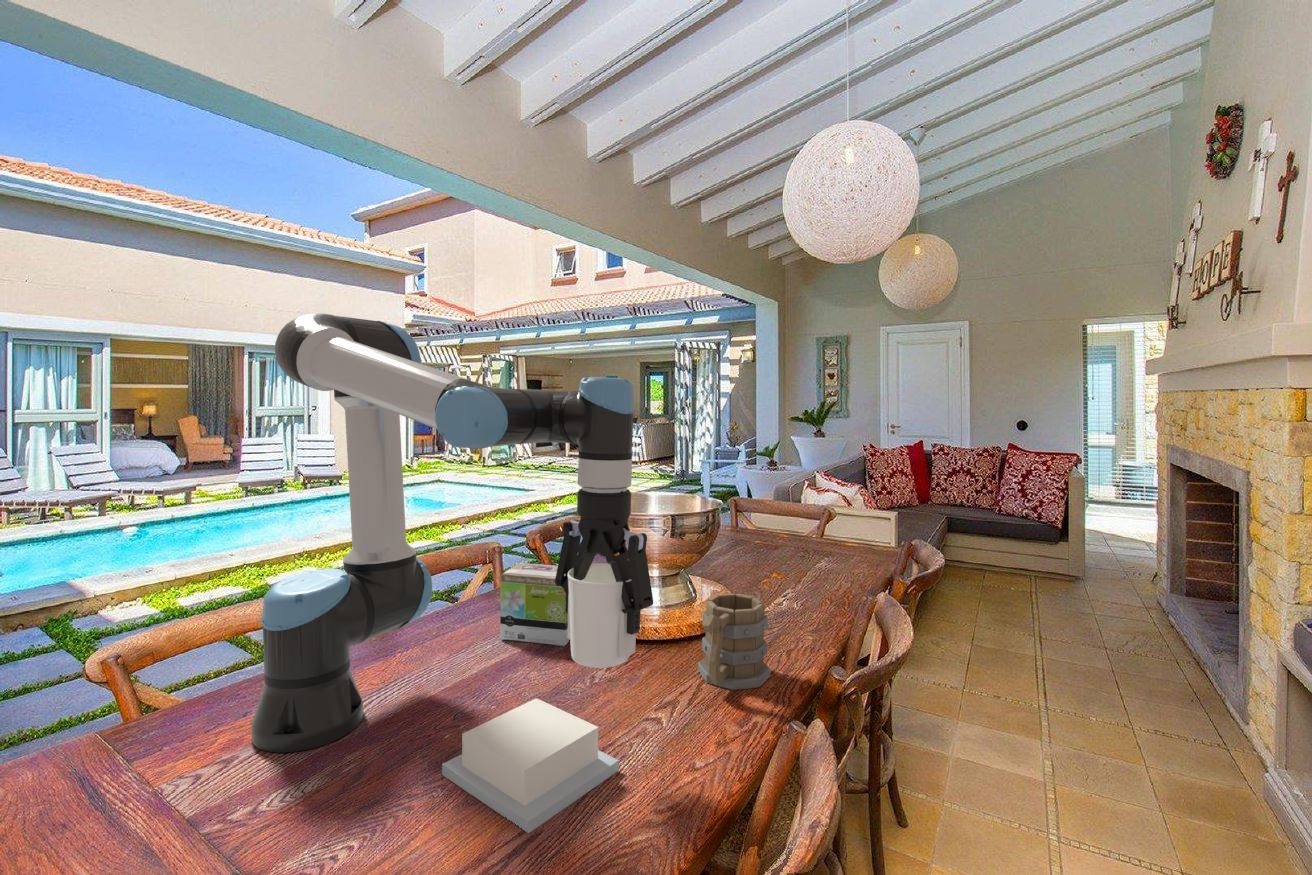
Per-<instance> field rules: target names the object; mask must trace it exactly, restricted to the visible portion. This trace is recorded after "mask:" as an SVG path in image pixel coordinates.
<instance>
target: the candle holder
mask: <svg viewBox="0 0 1312 875" xmlns="http://www.w3.org/2000/svg"><path fill="white" fill-rule="evenodd" d="M567 577H568V591H569V619H570V641H569V644H570V656H571V659H572V660H573V661H574V662H575V663H576V664H578V665H581V666H583V667H588V668H591V669H592V668H595V669H607V668H613V667H617V666H619V665H622V664H623V663H625V662H626V661H627V660H628V659H629V657H630V655H629V656H627V657H625V658H623V659H622V658H619V622H620V610H623V609H625V607H624V604H623V601H622V598H621V595H622V585H623V582H622V581H621V582H616V580H615V577H614V574H613V571H612V568H611V565H610V564H608V563H592V564H591V566H590V568H589V570H588V573H587V575H586V577H585V578H584V579H583V580H581V581H580V580H577V579H574V569H573V568H572V569H571V570H569V572H568V574H567ZM630 581H631V579H629V580H627V581H626V582H630ZM632 601H633V600H632Z"/></svg>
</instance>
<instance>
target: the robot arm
mask: <svg viewBox="0 0 1312 875" xmlns="http://www.w3.org/2000/svg"><path fill="white" fill-rule="evenodd" d="M274 355H275V358H276V361H277V364H278V366H279V367H280V369H281V371H282V372H284V374H285V375H286V376H287V377H289V378H290V379H292V380H293V381H294V382H296V383H299V384H300V385H303V386H306V387H307V388H308V387H309V388H311V389H314V390H316V391H320V392H330V391H333V395H334V396H333V397H334V398H333V400H334V401H335V402H337V403H338V404H339V405H340V406H341V407H342V408H343V409H344V416H345V420H344V421H345V433H346V434H345V438H346V451H347V452H346V453H347V454H346V457H347V471H348V488H349V489H348V490H349V508H350V510H349V512H350V525H351V527H350V528H351V543H352V545H351V546H352V548H351V550H350V551H349V552H348V553H347V554H346V555H345V556H344V557H343V569H339V568H333V567H332V568H318V569H316V570H313V571H311V570H307V571H303V572H300V573H296V574H293V575H290V576H287V577H285V578H283V579H281V580H279V581H278V582H275V584H273V585H271V586H270V588H269V589H268V590H267V592H266V594H265V595H264V596H263V603H262V611H261V613H262V615H261V618H260V622H261V626H262V642H263V644H262V645H263V646H262V647H263V681H264V683H263V684H264V685H263V688H262V692H261V694H260V698H259V701H258V704H257V706H256V709H255V712H254V715H253V718H252V722H251V727H250V728H251V730H250V731H251V733H250V734H251V743H252V744H253V746H255V748H257V749H259V750H261V751H265V752H269V753H293V752H301V751H302V752H303V751H306V750H310V749H314V748H318V747H321V746H324V745H327V744H330V743H332V742H334V741H337V740H339V739H341V738H343V737H345V736H346V735H348V734H350V733H351V732H352V731H353V730H355V729H356V728H357V727H358V726H359V725H361V724H360V723H361V722H362V721H363V718H364V701H363V698H362V696H361V692H360V690H359V688H358V685H357V683H356V680H355V678H354V676H353V673H352V671H351V647H353V646H357V645H358V644H361V643H364V642H366V641H369V640H372V639H374V638H376V637H379V636H381V635H384V634H387V633H389V632H392V631H396V630H400V629H403V628H404V627H405V626H407V625H408V624H411V623H413V622H414V621H416V620H418V619H419V618H420V617H421V616H422V615H423V614H424V613H425V611H426V610H427V609H428V607H429V605H430V602H431V600H432V594H433V579H432V576H431V572H430V570H427V565H426V563H424V562H423V561H422V560H421V559H419V558H417V550H416V549H415V548H414V547H412V546H411V545H410V544H409V543H408V542H407V533H406V529H407V528H406V516H405V513H406V512H405V495H404V494H405V493H404V477H403V476H404V475H403V474H404V473H403V456H402V438H401V418H400V417H401V416H402V417H405V418H408V419H410V420H413V421H415V422H418V423H421V424H422V425H425V426H428V427H431V428H434V429H436V430H437V432H438V434H439V435H441V436H442V437H443V439H444V441H445V442H446V443H448V445H450V446H452V447H455V448H459V449H473V450H481V449H486V448H491V447H492V448H493V447H501V446H502V447H503V446H511V445H512V446H513V445H525V444H538V443H559V444H563V443H564V444H574V445H578V464H577V465H578V467H577V485H578V486H579V487H581V488H579V490H578V491H577V492H576V494H577V499H576V500H577V502H576V512H577V515H578V516H579V517H580V520H579V519H575V520H570V521H564V522H563V524H562V534H563V538H562V543H561V544H562V545H561V549H560V554H559V559H558V565H557V566H558V568H557V573H556V578H555V584H556V585H557V586H561V587H563V588H564V591H565V593H566V606H565V610H566V613H568V631H567V638H568V639H570V619H569V591H568V577H567V574H568V572H569V570H571V569H572V568H573V569H574V579H577V580H580V581H581V580H583V579H584V578H585V577H586V575H587V573H588V570H589V568H590V566H591V564H593V561H594V559H595V557H596V555H597V554H598V555H600V556H602V557H605V559H606V564H610V565H611V568H612V571H613V574H614V577H615V580H616V582H621V581H622V582H623V585H622V595H621V598H622V601H623V604H624V607H625V609H623V610H620V622H619V658H622V659H623V658H625V657H627V656H629V657H630V656H632V655H633V654H635V653H636V642H637V641H636V639H637V638H636V636H637V635H636V634H638V633H639V631H640V629H641V611H642V610H644V609H647V608H649V607H651V606H653V605H654V597H653V590H652V583H651V578H650V571H649V566H648V565H649V564H648V558H647V557H648V556H647V550H646V549H647V542H648V536H647V534H646V533H644V532H642V533H636V532H633V531H631V529H630V528H629V522H628V520H629V518H630V516H631V513H632V492H631V490H630V489H629V487H631V486H632V480H633V478H632V474H633V472H632V471H633V436H634V435H633V434H634V433H633V432H634V431H633V430H634V415H635V412H636V409H635V406H634V405H635V403H634V402H635V401H634V400H635V399H634V385H633V382H632V381H631V380H629V379H627V378H624V377H623V378H621V377H608V376H607V377H604V376H600V377H599V376H596V377H595V376H590V377H588V376H587V377H586V376H585V377H583V378H581V380H580V382H579V387H578V390H576V391H575V390H573V391H570V390H569V391H568V390H551V389H550V390H549V389H547V390H546V389H538V388H536V389H534V388H526V389H525V388H524V389H522V388H521V389H520V388H503V387H502V388H501V387H500V388H499V387H492V386H488V385H485V384H482V383H479V382H477V381H473V380H470V379H468V378H465V377H462V376H459V375H456V374H452V373H451V372H450V373H449V372H446V371H444V370H441V369H437V368H435V367H431V366H429V365H427V364H423V363H422V359H421V352H420V350H419V347H418V345H417V342H416V341H415V340H414V337H413V336H412V335H411V334H409V333H408V332H407V330H405V328H402V327H400V326H398V325H397V324H390V323H387V322H385V321H382V320H371V319H363V318H355V317H349V316H347V317H346V316H341V315H340V316H339V315H334V314H330V313H308V314H305V315H300V316H297V317H296V318H294V319H292V320H290V321H289V322H287V323H286V324H285V325H284V326H283V327H281V329H280V331H279V333H278V335H277V337H276V341H275V344H274ZM564 575H565V576H564ZM629 579H631V581H630V582H626V581H627V580H629ZM632 600H633V601H632Z"/></svg>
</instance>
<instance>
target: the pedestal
mask: <svg viewBox="0 0 1312 875" xmlns="http://www.w3.org/2000/svg"><path fill="white" fill-rule="evenodd" d="M461 735H462V736H461V738H462V739H461V745H462V746H461V747H462V748H461V749H462V750H461V754H458V756H455V757H453V758H451V759H449V760H448V761H445V762H443V763H441V775H442V776H443V777H445V778H446V779H447V780H449V781H451V782H452V783H454V784H455V785H457V786H458V787H460V788H461V789H462V790H463V791H466V792H467V793H468V794H469V795H471V796H472V797H474V798H475V799H477V800H478V801H480V802H481V803H483V804H484V805H486V806H487V807H489V808H490V809H492V810H493V811H494V812H497V813H498V814H499V815H501V816H502V817H504V818H505V817H506V818H507V819H506V818H505V819H506V820H508V821H509V820H510V821H509V822H511V821H512V822H514V823H515V824H516V826H517V825H518V826H519V827H518V826H517V827H518V828H520V829H521V828H522V830H523V831H524V832H525V833H527V834H530V833H531V832H533V831H534V830H536V829H537V828H539V827H541V826H542V825H543V824H544V823H546V822H547V821H548V820H550V819H552V818H553V817H555V816H556V815H557V814H558V813H560V812H561V811H563V810H564V809H566V808H567V807H569V806H570V805H572V804H574V802H576V801H577V800H579V799H580V798H582V797H583V796H585V795H586V794H587V793H589V792H590V791H591V790H593V789H594V788H596V787H598V786H599V785H600V784H602V783H603V782H604V781H606V780H608V779H609V778H610V777H612V776H613V775H615V774H616V773H618V772H619V771H620V770H619V768H620V767H619V766H620V765H619V764H620V763H619V762H620V761H619V759H618V758H615V757H613V756H611V755H609V754H607V753H605V752H604V751H601V750H599V726H598V725H596V724H593V723H591V722H588V721H586V720H585V719H582V718H580V717H577V716H576V715H573V714H571V713H569V712H567V711H564V710H563V709H560V708H558V707H556V706H554V705H552V704H550V703H547V702H545V701H543V700H541V699H539V698H537V697H536V698H533V699H532V700H529V701H528V702H526V703H523V704H522V705H519V706H517V707H515V708H513V709H511V710H509V711H507V712H505V713H503V714H500V715H499V716H496V717H494V718H492V719H490V720H488V721H486V722H484V723H482V724H480V725H477V726H476V727H473V728H471V729H469V730H468V731H465V732H462V734H461ZM512 822H511V823H512ZM514 823H513V824H514ZM515 824H514V825H515Z"/></svg>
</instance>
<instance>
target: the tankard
mask: <svg viewBox="0 0 1312 875" xmlns="http://www.w3.org/2000/svg"><path fill="white" fill-rule="evenodd" d="M705 606H706V607H705V608H706V609H705V611H704V612H703V613H702V627H703V630H704V632H705V636H703V637H702V639H701V650H702V651H703V652H704V653H705V655H704V656H705V657H704V658H703V659H701V661H699V662H698V663H697V672H698V673H699V672H700V673H699V674H700V675H701V677H702V678H703V680H704V681H705V683H707V684H708V683H709V685H712V684H713V686H716V687H720V688H723V689H727V690H730V691H737V690H748V689H749V690H750V689H755V688H757V689H758V688H760V687H761V686H762V685H763V684H765V682H766V681H768V679H769V678H770V677H771V667H769V666H768V665H767V664H766V663H765V662H764V657H765V656H766V655H767V653H768V642H767V641H766V640H765V638H764V636H765V633H764V632H765V631H767V629H768V625H769V624H768V623H769V622H768V621H769V618H768V616H767V615H766V614H765V603H763V602H762V601H761V600H759V599H758V598H757V597H755V596H753V595H746V594H741V593H723V594H715V595H713V596H712V597H710V598H708V599H707V600H706V602H705Z"/></svg>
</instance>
